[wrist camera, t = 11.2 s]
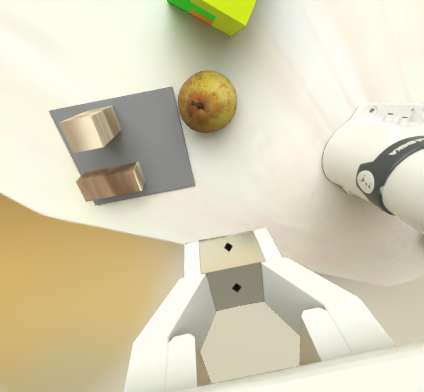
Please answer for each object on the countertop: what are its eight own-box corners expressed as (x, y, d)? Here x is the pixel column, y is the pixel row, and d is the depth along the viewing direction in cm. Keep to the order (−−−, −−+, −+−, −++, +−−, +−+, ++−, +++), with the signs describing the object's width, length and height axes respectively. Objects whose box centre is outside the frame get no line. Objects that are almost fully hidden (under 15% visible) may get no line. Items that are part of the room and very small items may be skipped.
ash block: (112, 105, 37) (90, 116, 29) (121, 130, 39) (103, 147, 31) (88, 110, 37) (58, 122, 29) (98, 134, 39) (73, 153, 31)
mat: (171, 86, 37) (171, 86, 37) (194, 184, 46) (194, 185, 46) (50, 110, 37) (48, 111, 37) (96, 204, 46) (95, 205, 46)
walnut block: (134, 169, 39) (75, 181, 39) (141, 190, 41) (86, 201, 41) (138, 161, 42) (85, 172, 42) (145, 181, 44) (94, 191, 44)
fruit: (240, 108, 40) (260, 122, 30) (196, 136, 42) (199, 158, 31) (216, 58, 36) (228, 54, 26) (168, 91, 38) (161, 99, 27)
